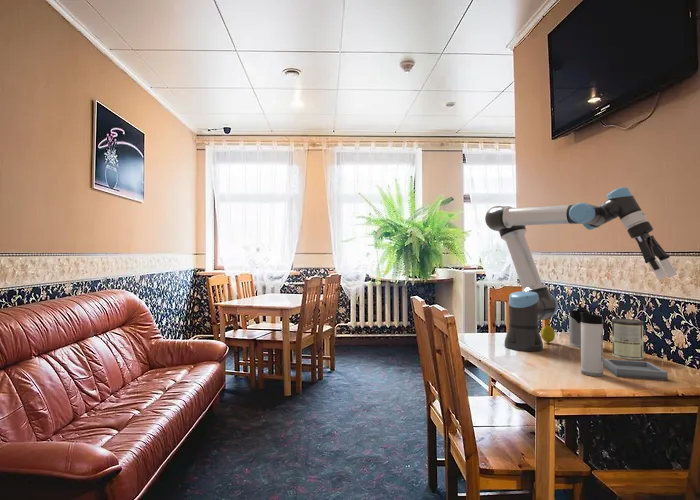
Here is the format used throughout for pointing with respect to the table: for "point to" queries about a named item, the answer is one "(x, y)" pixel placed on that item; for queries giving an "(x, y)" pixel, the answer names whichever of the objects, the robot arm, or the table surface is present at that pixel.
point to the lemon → (548, 334)
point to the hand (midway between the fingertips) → (668, 277)
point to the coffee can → (627, 339)
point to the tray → (635, 369)
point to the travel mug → (591, 344)
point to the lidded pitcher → (575, 328)
